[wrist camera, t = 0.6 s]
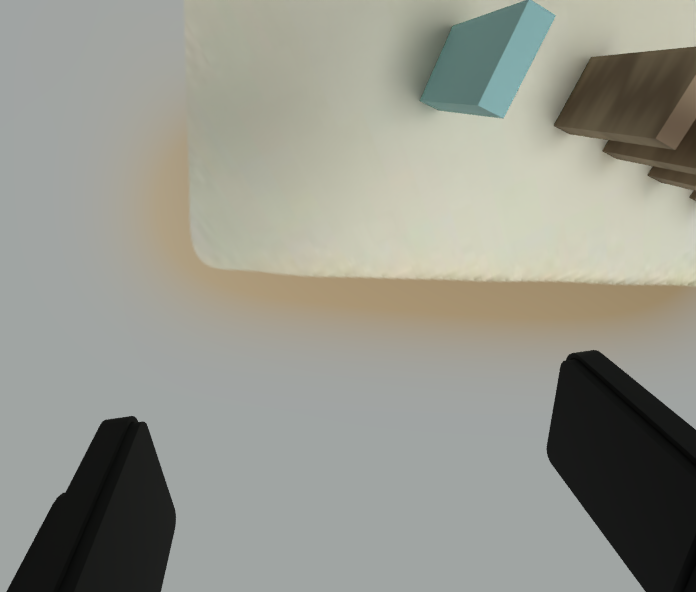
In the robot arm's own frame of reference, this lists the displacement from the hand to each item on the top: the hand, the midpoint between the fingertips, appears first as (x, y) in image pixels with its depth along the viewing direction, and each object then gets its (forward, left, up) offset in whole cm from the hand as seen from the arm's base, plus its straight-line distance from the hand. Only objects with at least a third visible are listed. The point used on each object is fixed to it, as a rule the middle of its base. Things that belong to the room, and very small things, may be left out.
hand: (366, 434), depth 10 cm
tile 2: (-19, +12, -26) cm, 34 cm away
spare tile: (-13, +3, -26) cm, 29 cm away
